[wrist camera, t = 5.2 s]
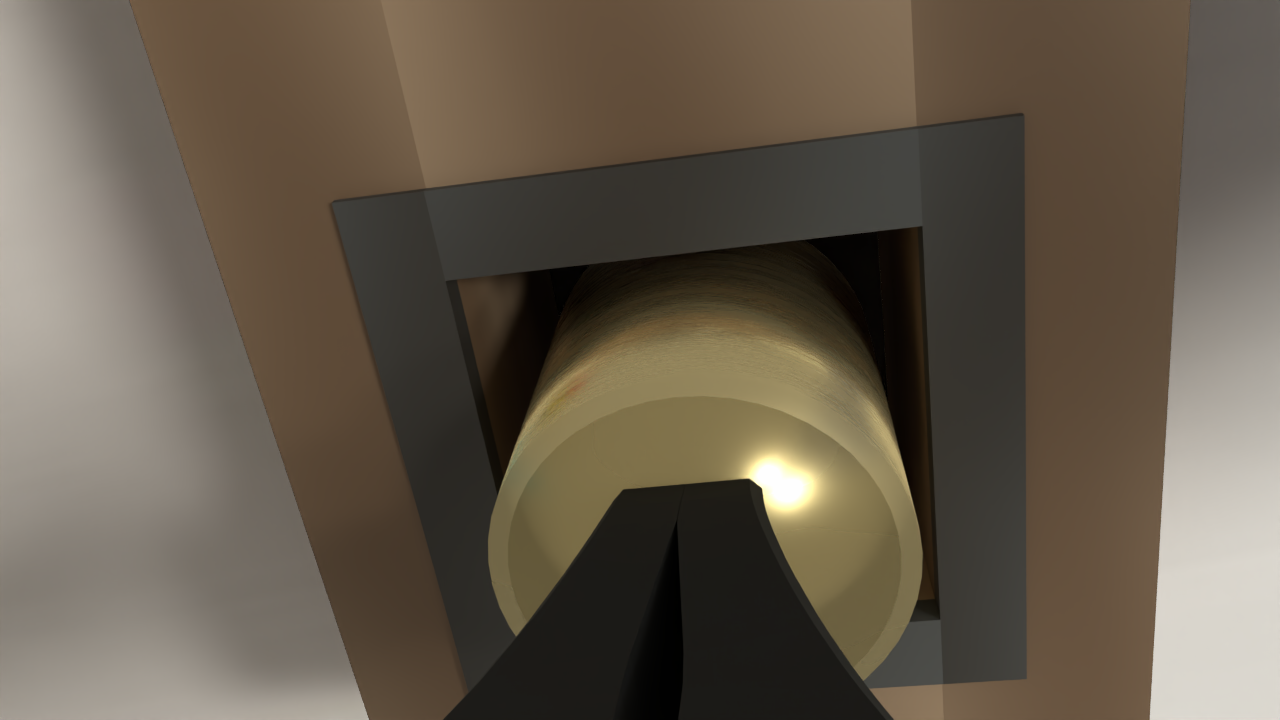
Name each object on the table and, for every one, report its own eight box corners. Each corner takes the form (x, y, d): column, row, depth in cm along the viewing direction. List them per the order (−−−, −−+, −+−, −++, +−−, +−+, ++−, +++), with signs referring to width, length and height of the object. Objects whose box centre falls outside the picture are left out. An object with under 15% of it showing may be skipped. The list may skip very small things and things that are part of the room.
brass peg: (860, 194, 14) (912, 354, 10) (880, 483, 16) (931, 721, 11) (527, 233, 14) (444, 400, 10) (583, 509, 16) (531, 744, 12)
